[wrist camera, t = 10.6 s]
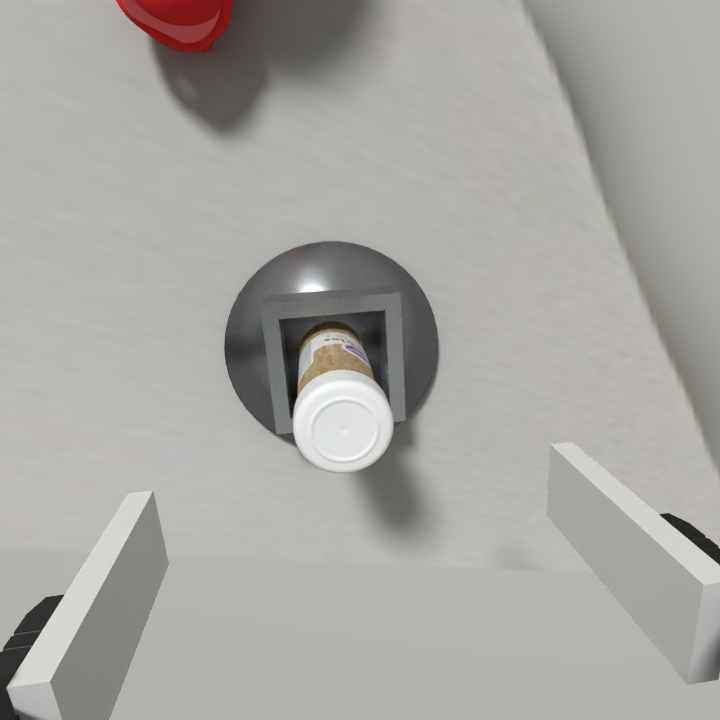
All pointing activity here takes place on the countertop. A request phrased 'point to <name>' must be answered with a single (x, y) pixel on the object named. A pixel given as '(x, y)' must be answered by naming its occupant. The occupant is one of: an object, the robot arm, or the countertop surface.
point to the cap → (180, 21)
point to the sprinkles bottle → (339, 402)
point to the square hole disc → (328, 303)
